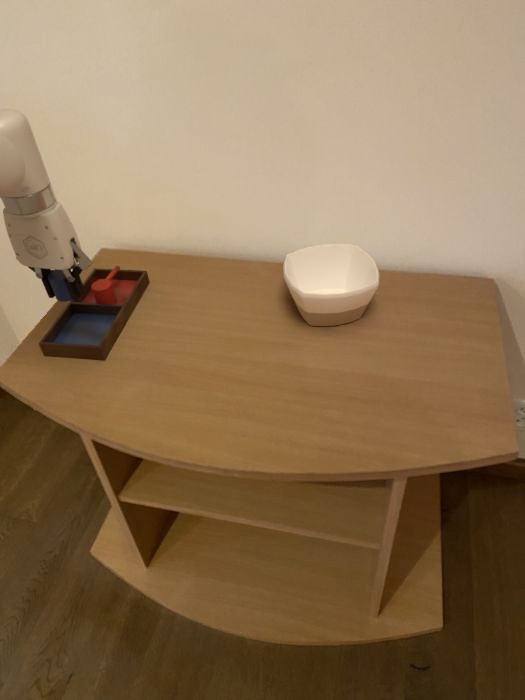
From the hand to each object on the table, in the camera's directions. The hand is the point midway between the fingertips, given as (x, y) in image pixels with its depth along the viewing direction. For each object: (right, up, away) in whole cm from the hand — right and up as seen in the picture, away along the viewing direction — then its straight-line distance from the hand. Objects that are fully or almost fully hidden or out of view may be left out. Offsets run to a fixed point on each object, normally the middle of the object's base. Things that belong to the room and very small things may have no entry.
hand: (67, 294), depth 90 cm
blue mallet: (+1, +2, +2) cm, 3 cm away
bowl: (+48, -2, +11) cm, 49 cm away
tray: (+2, -3, +13) cm, 14 cm away
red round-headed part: (+3, +2, +17) cm, 18 cm away
